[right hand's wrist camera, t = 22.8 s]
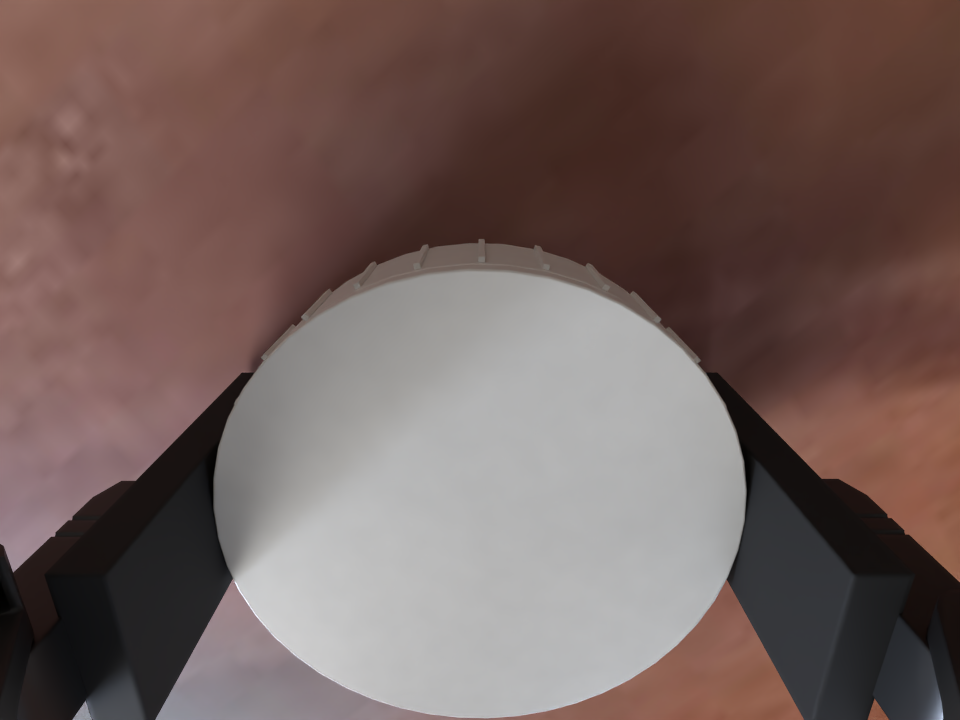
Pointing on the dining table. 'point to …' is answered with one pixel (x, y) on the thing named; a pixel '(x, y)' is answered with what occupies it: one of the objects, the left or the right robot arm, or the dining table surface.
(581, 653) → the lid
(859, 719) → the right robot arm
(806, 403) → the dining table surface
